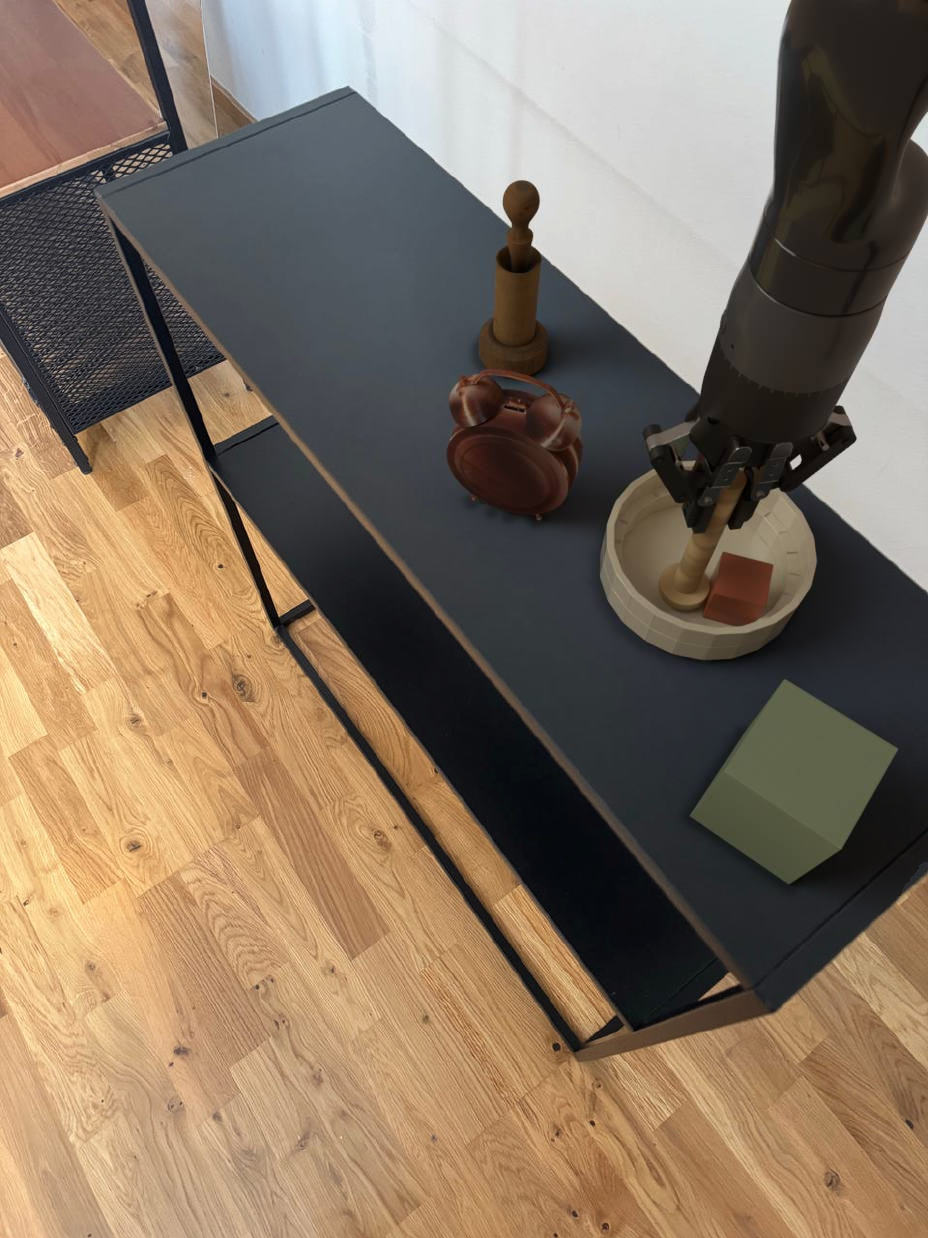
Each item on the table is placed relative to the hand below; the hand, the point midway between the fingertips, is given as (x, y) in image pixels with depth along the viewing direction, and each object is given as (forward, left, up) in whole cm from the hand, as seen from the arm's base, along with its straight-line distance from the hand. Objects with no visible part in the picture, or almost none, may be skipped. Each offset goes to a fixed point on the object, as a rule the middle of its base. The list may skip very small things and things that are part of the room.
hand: (713, 520), depth 63 cm
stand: (-14, +11, -11) cm, 21 cm away
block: (-4, -2, -11) cm, 11 cm away
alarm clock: (+17, 0, -11) cm, 21 cm away
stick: (0, 0, -10) cm, 10 cm away
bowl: (0, -3, -11) cm, 12 cm away
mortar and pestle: (+27, -14, -11) cm, 33 cm away
